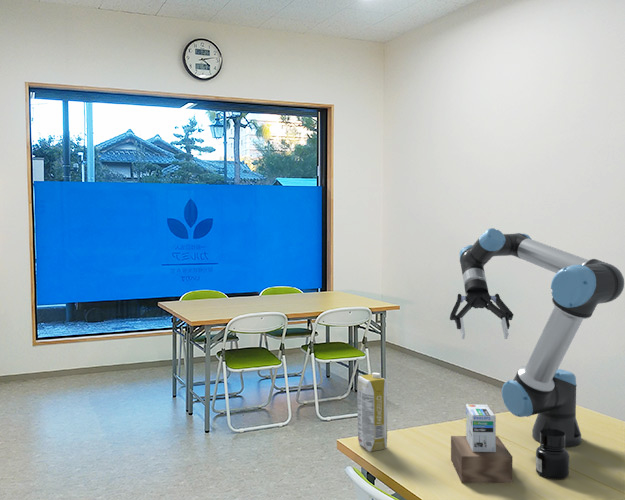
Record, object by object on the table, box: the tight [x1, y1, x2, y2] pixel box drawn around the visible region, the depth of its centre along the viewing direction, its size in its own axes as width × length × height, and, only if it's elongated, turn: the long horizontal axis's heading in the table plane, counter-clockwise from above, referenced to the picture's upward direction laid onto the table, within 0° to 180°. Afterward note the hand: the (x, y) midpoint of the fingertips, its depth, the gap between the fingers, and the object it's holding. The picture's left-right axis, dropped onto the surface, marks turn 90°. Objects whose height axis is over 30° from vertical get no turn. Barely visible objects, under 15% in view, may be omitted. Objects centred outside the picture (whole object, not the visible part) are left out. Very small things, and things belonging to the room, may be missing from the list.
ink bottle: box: [535, 429, 570, 480], centre depth 177 cm, size 10×9×12 cm
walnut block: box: [450, 435, 513, 484], centre depth 180 cm, size 14×16×8 cm
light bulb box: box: [465, 403, 497, 452], centre depth 179 cm, size 11×7×11 cm, turn 176°
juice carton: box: [356, 372, 388, 452], centre depth 199 cm, size 9×8×24 cm
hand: (485, 336), depth 197 cm, fingers open, 13 cm apart
